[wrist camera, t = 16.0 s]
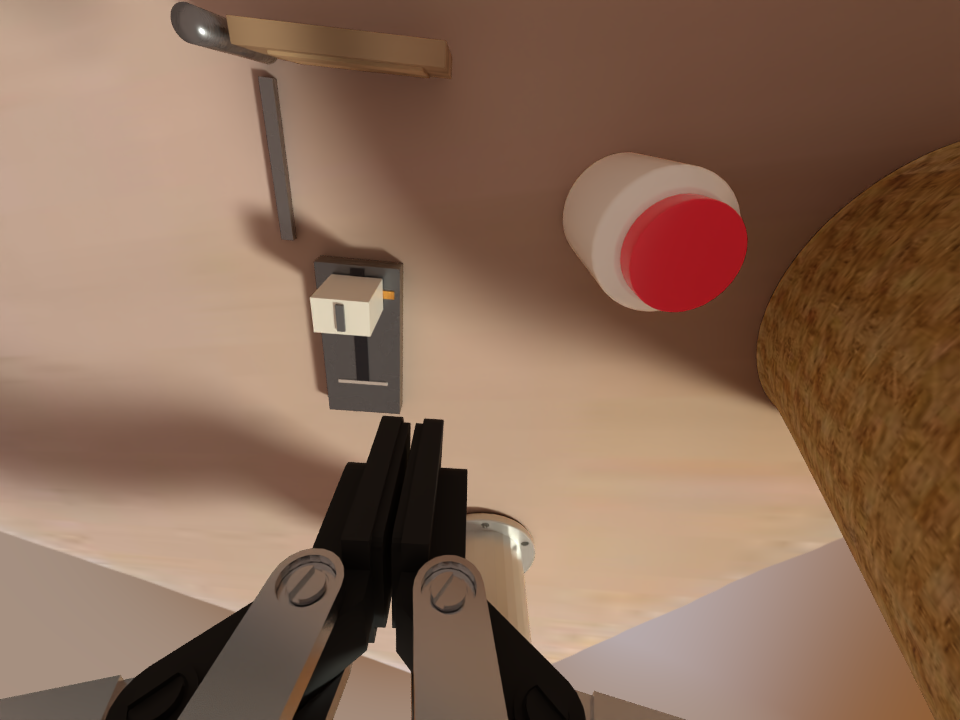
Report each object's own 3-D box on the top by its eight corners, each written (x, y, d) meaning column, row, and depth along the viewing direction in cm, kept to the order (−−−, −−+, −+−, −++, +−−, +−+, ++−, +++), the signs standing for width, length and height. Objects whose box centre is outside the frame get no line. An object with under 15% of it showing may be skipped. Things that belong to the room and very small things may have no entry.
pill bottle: (547, 253, 30) (582, 315, 21) (585, 138, 26) (648, 149, 17) (644, 276, 31) (718, 345, 22) (693, 168, 27) (810, 194, 18)
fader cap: (383, 309, 30) (369, 338, 26) (333, 305, 30) (312, 333, 26) (382, 278, 29) (368, 303, 25) (331, 274, 29) (308, 298, 25)
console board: (402, 403, 37) (399, 414, 36) (334, 398, 37) (329, 409, 35) (402, 263, 30) (399, 270, 29) (320, 255, 30) (313, 262, 29)
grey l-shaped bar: (300, 238, 29) (252, 272, 23) (280, 236, 29) (226, 269, 23) (276, 35, 24) (201, 3, 17) (251, 32, 23) (166, -1, 17)
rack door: (452, 57, 23) (446, 40, 18) (450, 81, 24) (444, 71, 19) (281, 38, 23) (225, 14, 18) (284, 63, 23) (231, 47, 18)
